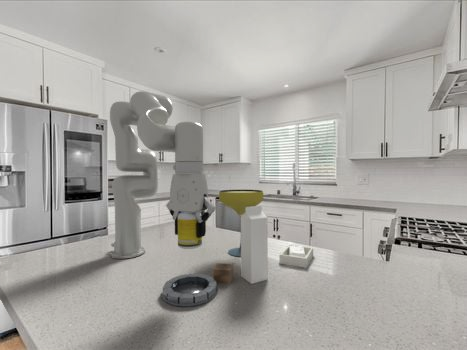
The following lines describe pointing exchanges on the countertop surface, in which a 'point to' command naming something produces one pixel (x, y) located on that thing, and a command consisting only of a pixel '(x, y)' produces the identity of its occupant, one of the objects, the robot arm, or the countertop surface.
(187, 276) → the collar
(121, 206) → the robot arm
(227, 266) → the walnut block
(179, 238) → the pill bottle
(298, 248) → the soap
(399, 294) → the countertop surface
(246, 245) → the milk
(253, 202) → the cocktail glass
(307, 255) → the soap dish
